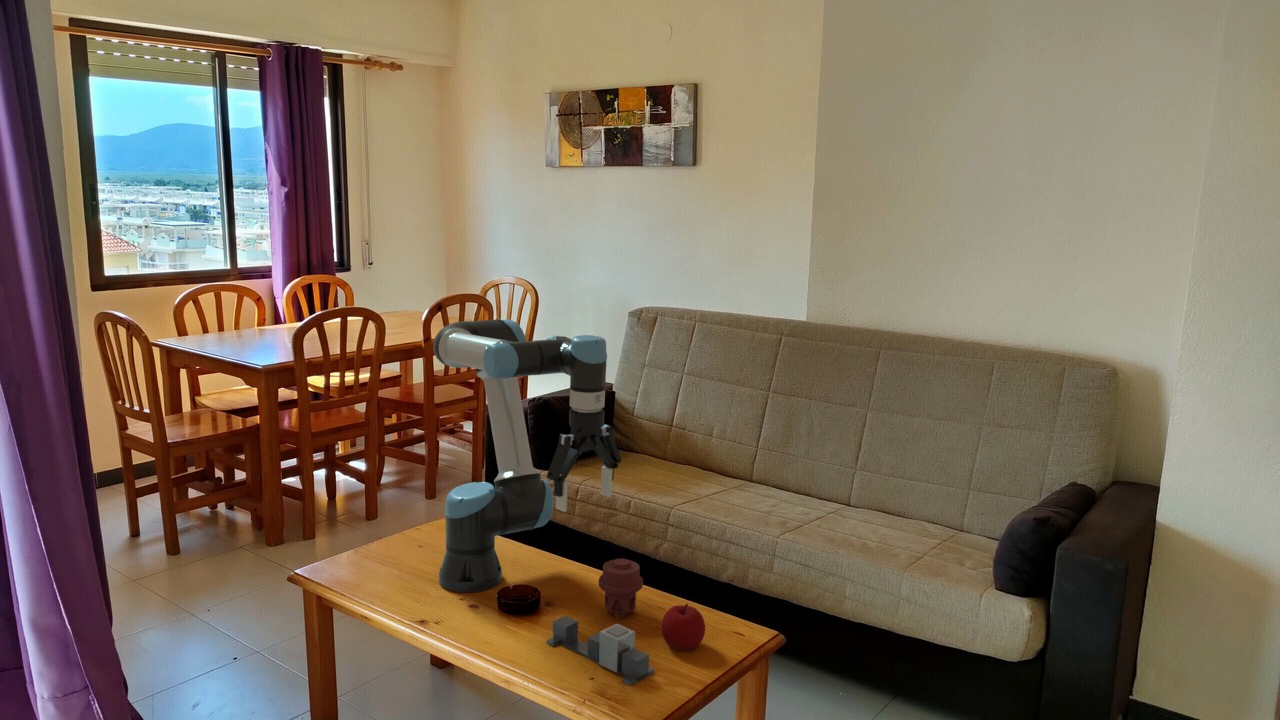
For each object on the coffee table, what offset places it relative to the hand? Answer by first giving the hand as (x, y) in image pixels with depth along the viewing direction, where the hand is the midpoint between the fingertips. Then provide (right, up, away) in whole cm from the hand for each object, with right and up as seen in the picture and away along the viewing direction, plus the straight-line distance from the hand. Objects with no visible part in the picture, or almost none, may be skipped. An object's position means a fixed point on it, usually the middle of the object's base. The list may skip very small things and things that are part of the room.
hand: (584, 502), depth 198 cm
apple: (+21, -30, -6) cm, 37 cm away
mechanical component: (+8, -27, +8) cm, 29 cm away
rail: (+4, -30, -12) cm, 33 cm away
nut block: (+8, -30, -16) cm, 35 cm away
